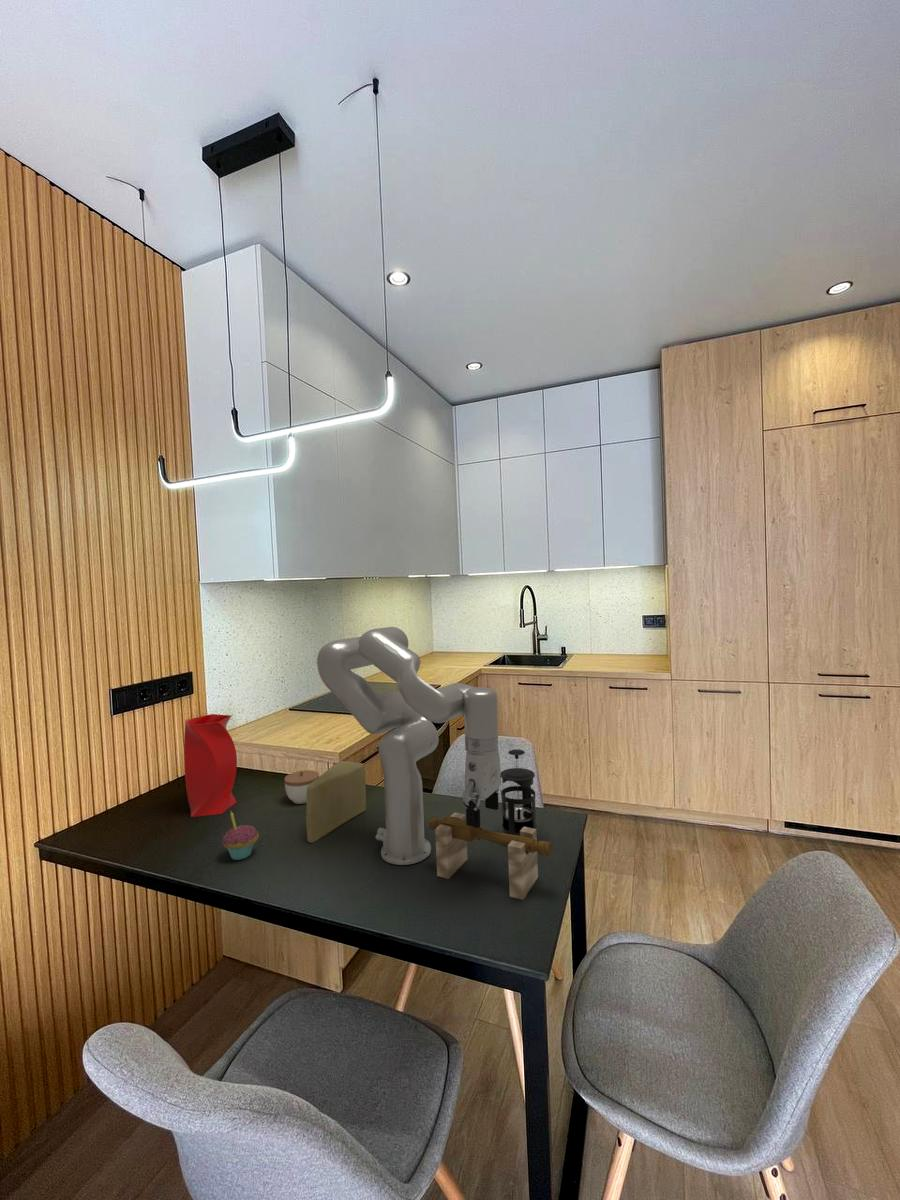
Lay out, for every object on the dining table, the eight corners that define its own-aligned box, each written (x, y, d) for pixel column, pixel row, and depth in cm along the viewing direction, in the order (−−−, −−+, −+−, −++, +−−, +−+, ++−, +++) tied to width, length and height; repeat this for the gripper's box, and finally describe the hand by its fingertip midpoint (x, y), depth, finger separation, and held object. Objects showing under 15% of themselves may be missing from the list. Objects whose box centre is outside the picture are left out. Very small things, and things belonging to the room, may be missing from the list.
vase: (244, 804, 162) (240, 716, 161) (201, 822, 149) (197, 728, 149) (216, 795, 170) (212, 712, 169) (173, 812, 158) (169, 722, 157)
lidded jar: (314, 806, 158) (313, 776, 158) (280, 807, 158) (279, 777, 158) (323, 792, 168) (322, 764, 168) (291, 793, 169) (290, 765, 168)
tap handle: (547, 845, 107) (426, 818, 121) (547, 860, 107) (426, 831, 122) (551, 839, 110) (432, 813, 124) (552, 853, 110) (433, 826, 124)
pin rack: (437, 875, 117) (435, 828, 116) (456, 856, 125) (454, 812, 125) (523, 900, 106) (521, 848, 106) (538, 877, 115) (536, 829, 114)
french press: (527, 851, 126) (524, 759, 125) (494, 842, 131) (490, 754, 131) (545, 831, 136) (542, 746, 135) (514, 823, 141) (511, 741, 140)
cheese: (324, 846, 133) (322, 789, 132) (294, 841, 136) (291, 786, 136) (367, 810, 153) (365, 761, 153) (340, 807, 157) (338, 758, 156)
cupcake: (224, 867, 124) (221, 819, 124) (222, 852, 132) (219, 806, 131) (261, 857, 128) (259, 810, 128) (257, 843, 136) (255, 798, 135)
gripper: (479, 757, 106) (481, 837, 106) (511, 734, 121) (512, 805, 121) (448, 752, 109) (450, 830, 110) (483, 730, 124) (484, 799, 125)
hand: (482, 817), depth 116 cm, fingers open, 9 cm apart
